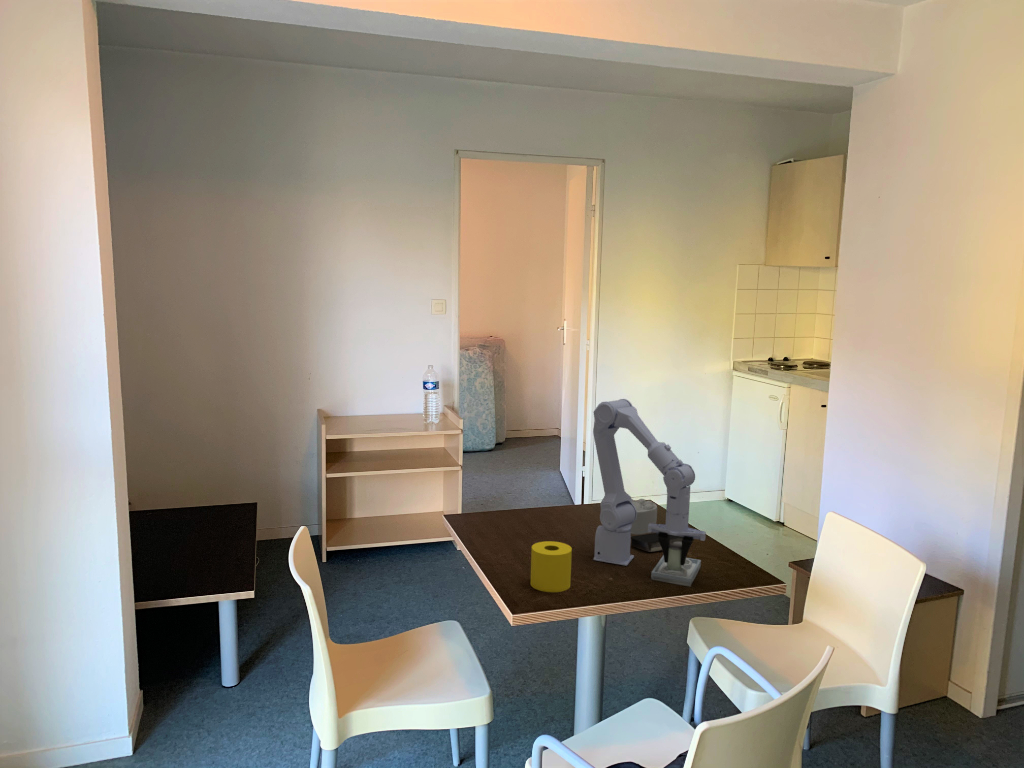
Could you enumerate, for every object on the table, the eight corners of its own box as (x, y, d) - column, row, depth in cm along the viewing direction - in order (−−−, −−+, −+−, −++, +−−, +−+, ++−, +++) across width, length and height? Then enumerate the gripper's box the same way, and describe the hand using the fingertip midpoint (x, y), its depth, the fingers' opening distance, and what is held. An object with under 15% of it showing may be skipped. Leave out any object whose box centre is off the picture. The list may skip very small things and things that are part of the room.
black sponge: (646, 556, 211) (647, 543, 211) (627, 546, 219) (628, 534, 218) (690, 548, 219) (691, 536, 219) (671, 539, 227) (671, 527, 226)
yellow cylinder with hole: (578, 587, 187) (579, 550, 186) (545, 595, 181) (547, 557, 180) (554, 574, 195) (556, 539, 194) (522, 581, 190) (523, 545, 189)
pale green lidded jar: (665, 569, 194) (666, 546, 193) (669, 564, 197) (670, 542, 196) (679, 571, 192) (680, 549, 191) (682, 567, 195) (684, 545, 195)
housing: (651, 579, 193) (651, 571, 193) (663, 561, 207) (664, 553, 207) (690, 586, 189) (690, 578, 189) (700, 567, 203) (701, 559, 203)
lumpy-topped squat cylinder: (611, 527, 236) (613, 500, 235) (638, 520, 244) (640, 494, 243) (637, 536, 228) (639, 508, 227) (664, 528, 236) (665, 501, 235)
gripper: (646, 511, 192) (643, 562, 194) (703, 520, 186) (700, 572, 188) (652, 504, 199) (649, 554, 200) (708, 512, 193) (705, 563, 194)
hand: (674, 562), depth 195 cm, fingers closed on pale green lidded jar, 4 cm apart
